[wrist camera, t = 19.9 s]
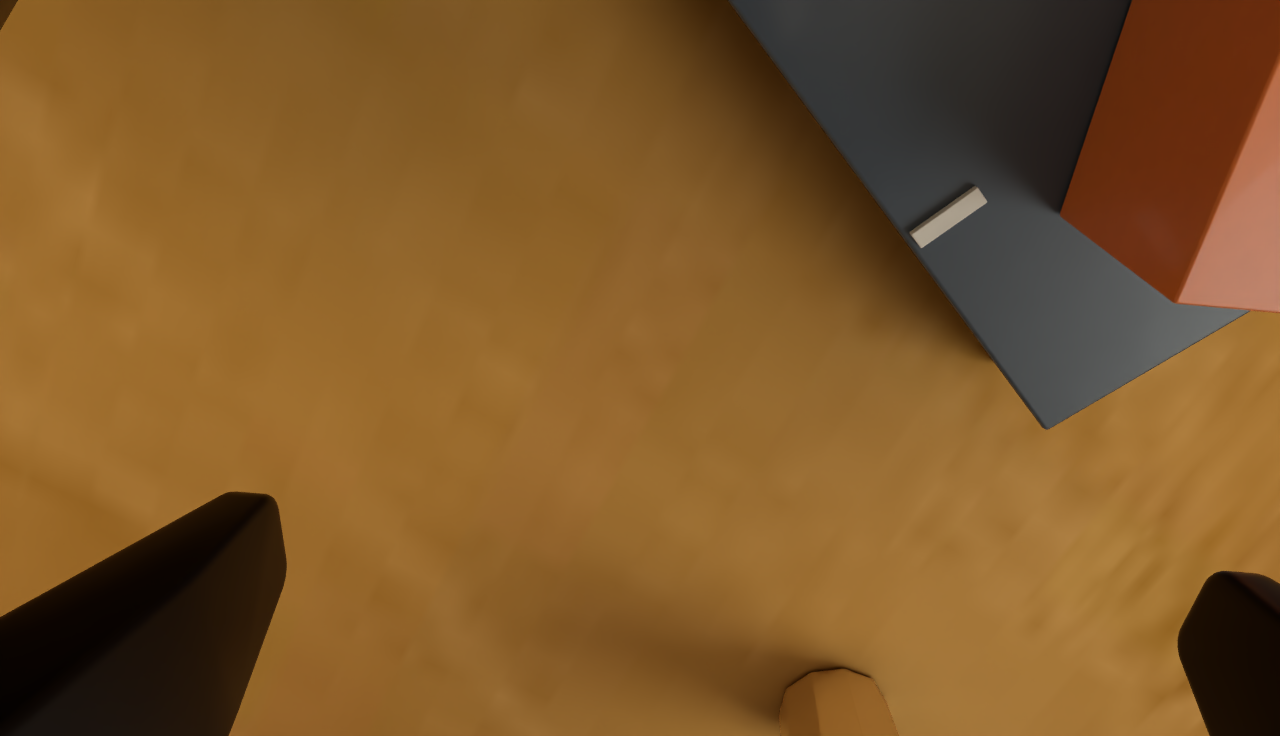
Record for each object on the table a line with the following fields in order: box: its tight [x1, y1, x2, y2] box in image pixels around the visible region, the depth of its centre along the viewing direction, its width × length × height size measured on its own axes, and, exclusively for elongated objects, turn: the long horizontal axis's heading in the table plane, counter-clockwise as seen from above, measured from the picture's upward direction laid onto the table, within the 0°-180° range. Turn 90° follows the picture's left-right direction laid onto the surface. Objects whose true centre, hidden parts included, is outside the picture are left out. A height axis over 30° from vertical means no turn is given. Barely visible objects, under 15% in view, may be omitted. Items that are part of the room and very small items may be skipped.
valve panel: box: [728, 0, 1251, 430], centre depth 15 cm, size 13×10×3 cm
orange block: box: [1060, 0, 1280, 313], centre depth 12 cm, size 6×2×4 cm, turn 175°
